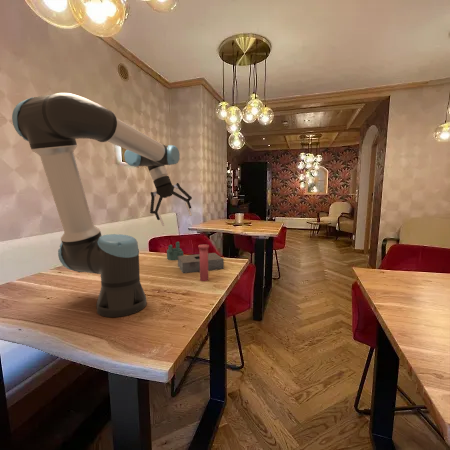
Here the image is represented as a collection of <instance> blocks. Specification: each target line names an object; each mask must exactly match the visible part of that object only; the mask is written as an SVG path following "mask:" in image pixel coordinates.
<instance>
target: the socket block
mask: <svg viewBox="0 0 450 450" xmlns="http://www.w3.org/2000/svg"><path fill="white" fill-rule="evenodd" d="M224 262H225V259H224V258H223V257H222V256H220V255H218V254H217V253H216V252H208V272H210V271H218V270H225V268H224V267H225V265H224V264H225V263H224ZM177 267H178V268H179V270H180V271H181V274H191V273H200V255H199V253H198V254H188V255H184V254H183V256H178V260H177Z"/></svg>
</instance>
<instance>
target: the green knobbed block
mask: <svg viewBox="0 0 450 450" xmlns="http://www.w3.org/2000/svg"><path fill="white" fill-rule="evenodd" d="M180 243H181V242H180V241H176V242H175V247H173V245H172V244H169V245H168V247H167V248H168V249H166V260H167V259H168V261H178V256H184V250H182V248H180Z"/></svg>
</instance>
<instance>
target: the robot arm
mask: <svg viewBox="0 0 450 450" xmlns="http://www.w3.org/2000/svg"><path fill="white" fill-rule="evenodd" d="M11 115H12V116H11V119H12V121H11V122H12V125H13V128H14V131H16V133H17V134H18V135H19V137H21V138H22V139H23V140H25V141H27V142H28V143H29V147H30V151H31V152H34V153H36V154H37V155H38V156H39V158H40V160H41V163H42V168H43V170H44V173H45V176H46V178H47V179H46V180H47V182H48V185H49V189H50V191H51V195H52V198H53V201H54V204H55V208H56V210H57V213H58V217H59V219H60V223H61V225H62V226H61V227H62V229H63V232H64V233H63V234H62V236H61V237H60V241H61V243H60V245H59V249H58V250H57V255H58V260H59V262H60V263H61V265H62V266H63V267H65V268H66V269H67V270H69V271H73V272H77V273H88V274H95V275H100V285H101V287H100V290H99V293H98V298H97V301H96V312H97V314H98V315H99V316H101V317H105V318H119V317H127V316H129V315H133V314H135V313H138V312H140V311H142V310H143V309H144V308H145V307H146V306H147V295H146V294H145V291H144V288H143V286H142V283H141V277H140V250H139V243H138V241H137V239H136V238H135V237H133V236H131V235H127V234H119V233H118V234H115V233H113V234H112V233H111V234H104V235H103V234H102V232H101V229H100V228H99V227H97V226H95V225H94V223H93V222H94V221H93V218H92V214H91V211H90V208H89V203H88V200H87V197H86V194H85V191H84V186H83V182H82V178H81V176H80V171H79V168H78V163H77V161H76V157H75V153H74V151H75V150H76V149H77V148H78V145H77V139H89V140H95V141H97V142H99V143H111V144H113V145H115V146H118V147H120V148H122V149H125V151H124V154H123V155H124V161H125V163H126V164H127V165H128V166H129V167H134V168H136V167H147V169H148V171H149V173H150V174H149V175H150V178H151V179H152V180H153V185H154V187H155V189H156V190H155V191H151V192H150V195H151V198H150V207H149V208H150V210H149V213H150V214H152V215H153V214H154V216H155V218H156V220H158V221H160V223H161V225H162V227H165V223H164V221H163V219H162V216H161V214H160V212H159V210H160V206H161V203H162V201H163V199H166V198H168V197H172V196H175V197H177V198H178V199H180V200H182V201H184V202H185V206H186V209H187V212H188V214H189V216H190V217H191V216H192V215H193V214H192V212H191V209H192V205H191V203H190V201H191V200H192V199H193V198H192V196H191V195H190V194H189V193H188V192H187V191H186V190H184V188H183V187H181V185H180V184H179V182H176V184H174V185H173V183H172V181H171V178H170V176H169V173H168V170H167V168H166V166H172V165H177V164H178V163H179V161H180V150H179V148H178V147H177V146H176V145H172V144H168V145H166V144H164V143H161V142H160V141H158V140H156V139H154V138H152V137H151V136H150V135H147V134H146V133H144V132H142V131H141V130H138V129H137V128H135V127H133V126H131V125H130V124H129V123H126V122H125V121H122V120H121V119H119V118H118V117H117V116H116V115H117V114H116V113H114V111H112V110H110V109H109V108H106V106H104V105H102V104H99V103H98V102H96V101H93V100H91V99H88V98H86V97H84V96H81V95H79V94H78V95H77V94H74V93H70V92H56V93H53V94H48V95H47V94H46V95H41V96H34V97H33V96H32V97H29V98H26V99H24V100H22V101H20V102H19V103H17V104H16V105H15V106H14V108H13V110H12V114H11ZM175 188H176V189H178V190H179V191H180V193H182V194H183V195H184V196H182V195H181V194H179V193H178V192H176V191H175ZM156 195H158V196H159V199H158V201H157V204H156V206H155V197H156ZM154 207H155V208H154Z"/></svg>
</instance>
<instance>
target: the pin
mask: <svg viewBox="0 0 450 450" xmlns="http://www.w3.org/2000/svg"><path fill="white" fill-rule="evenodd" d="M197 248H198V250H199V253H198V254H199V255H200V272H199V281H200V282H207V281H209V271H208V253H209V248H210V245H209V244H199V245H198V247H197Z"/></svg>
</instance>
